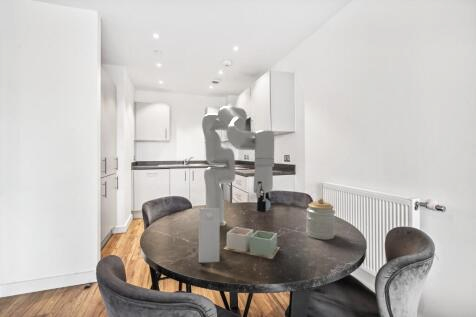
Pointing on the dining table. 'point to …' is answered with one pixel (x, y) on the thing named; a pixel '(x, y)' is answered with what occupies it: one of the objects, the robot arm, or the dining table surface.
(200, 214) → the milk carton
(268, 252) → the sage cup
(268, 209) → the slate ball
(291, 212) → the dining table surface
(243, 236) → the cream cup
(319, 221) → the jar
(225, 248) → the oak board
